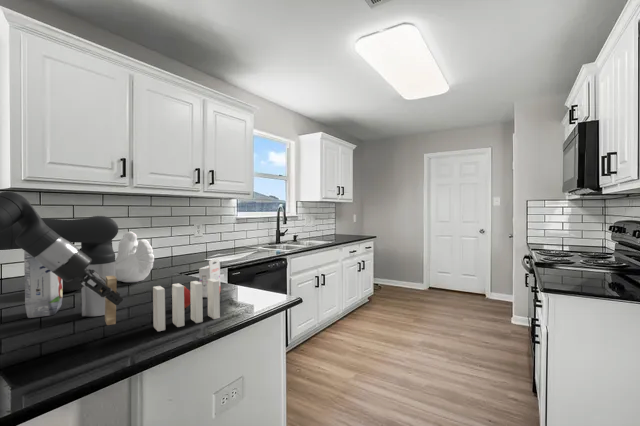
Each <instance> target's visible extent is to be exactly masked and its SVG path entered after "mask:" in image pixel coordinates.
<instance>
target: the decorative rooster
mask: <svg viewBox="0 0 640 426" xmlns="http://www.w3.org/2000/svg"><path fill="white" fill-rule="evenodd" d="M117 246H118V248H117V250H118V251H117V255H116V257H115V269H116V278H117V282H118V281H119V282H123V283H138V282H141V281H144V280H145V279H146V278H147V277H148V276H149V275H150V272H151V271H152V269H153V267H154V262H155V255H154V250H153V246H152V245H151V244H150V241H148V239H144V238H143V239H140V240H138V235H137V234H136V233H135V232H133V231H125V232H124V233H123V235H122V238H121V239H120V240H119V242H118V245H117Z"/></svg>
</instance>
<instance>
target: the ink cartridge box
mask: <svg viewBox="0 0 640 426" xmlns="http://www.w3.org/2000/svg"><path fill="white" fill-rule="evenodd" d="M198 274H199V277H198V278H199V282H200V283H202V298H208V289H207V279H216V280H218V281H219V288H220V289H221V263H220V258H215V259H212V260H208V265H205V266H203V267H200V268H198Z"/></svg>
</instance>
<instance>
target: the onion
mask: <svg viewBox="0 0 640 426" xmlns="http://www.w3.org/2000/svg"><path fill="white" fill-rule="evenodd" d="M183 286H184V285H183ZM189 306H191V296H190V289H188V288H187V287H186V285H185V286H184V310H185V309H186V308H188V307H189Z"/></svg>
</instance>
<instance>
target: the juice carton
mask: <svg viewBox="0 0 640 426" xmlns="http://www.w3.org/2000/svg"><path fill="white" fill-rule="evenodd" d="M23 251H24V250H23ZM23 255H24V258H23V259H24V261H23V262H24V263H23V265H24V266H23V267H24V306H25V312H26V316H27V318H28V319H31V318H32V319H33V318H42V317H49V316H55V315H56V313H58V311H59V310H60V309H61V307H62V303H63V298H64V297H63V293H64V292H63V289H62V279H61V278H60V277H58V276H57V275H56V274H54V273H53V272H52V271H50V270H49V269H47V268H46V267H44V266H43V265H42V264H41V263H40V262H39V261H38V260H37V259H35V257H33V256H31V255H30V254H29V253H27V252H26V251H24V253H23Z"/></svg>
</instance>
